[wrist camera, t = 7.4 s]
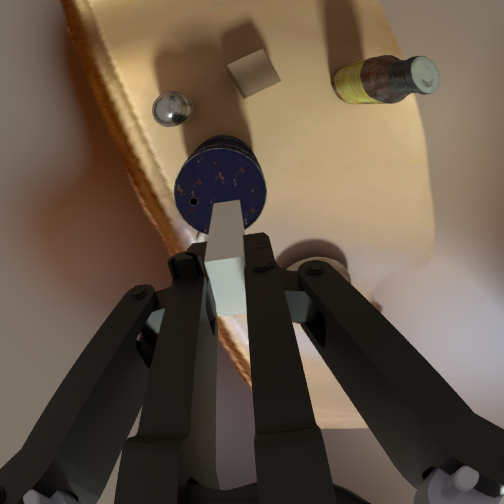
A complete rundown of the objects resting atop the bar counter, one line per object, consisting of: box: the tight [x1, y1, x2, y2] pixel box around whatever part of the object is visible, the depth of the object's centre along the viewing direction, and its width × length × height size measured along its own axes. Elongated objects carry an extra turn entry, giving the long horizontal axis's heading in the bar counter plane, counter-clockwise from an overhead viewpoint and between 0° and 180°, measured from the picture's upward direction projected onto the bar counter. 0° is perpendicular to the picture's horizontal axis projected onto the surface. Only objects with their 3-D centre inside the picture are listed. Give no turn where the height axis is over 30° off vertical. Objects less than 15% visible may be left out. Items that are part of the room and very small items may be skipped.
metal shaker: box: [152, 92, 195, 127], centre depth 35 cm, size 5×5×9 cm
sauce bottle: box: [332, 55, 441, 104], centre depth 29 cm, size 7×6×20 cm
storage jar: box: [174, 135, 267, 235], centre depth 37 cm, size 10×10×15 cm
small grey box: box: [227, 49, 281, 99], centre depth 34 cm, size 5×5×6 cm
